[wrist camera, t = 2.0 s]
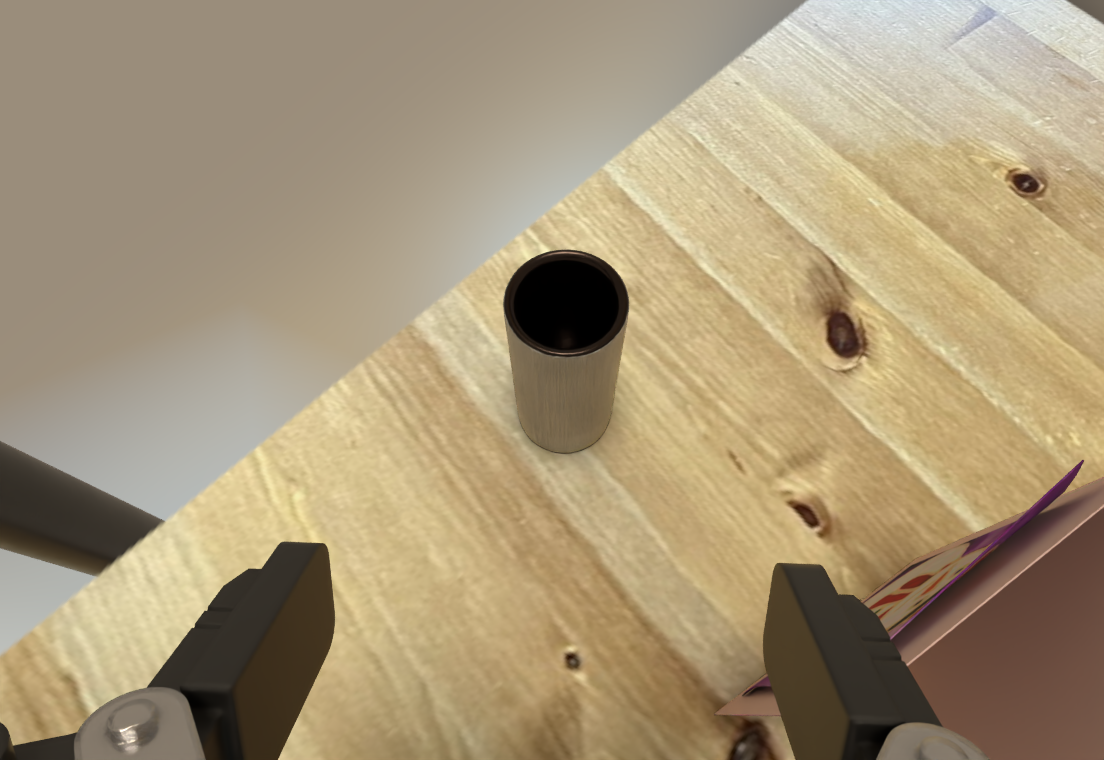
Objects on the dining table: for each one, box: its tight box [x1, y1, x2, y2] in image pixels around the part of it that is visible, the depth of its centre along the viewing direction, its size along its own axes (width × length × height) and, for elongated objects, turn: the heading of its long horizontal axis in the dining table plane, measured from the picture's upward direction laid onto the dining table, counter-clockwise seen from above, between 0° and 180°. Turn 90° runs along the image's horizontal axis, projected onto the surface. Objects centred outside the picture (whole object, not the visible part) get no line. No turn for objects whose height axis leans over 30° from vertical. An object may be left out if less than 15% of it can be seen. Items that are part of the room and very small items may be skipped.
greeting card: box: [714, 460, 1104, 760], centre depth 23 cm, size 11×7×15 cm, turn 123°
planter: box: [503, 250, 629, 453], centre depth 31 cm, size 4×4×10 cm
